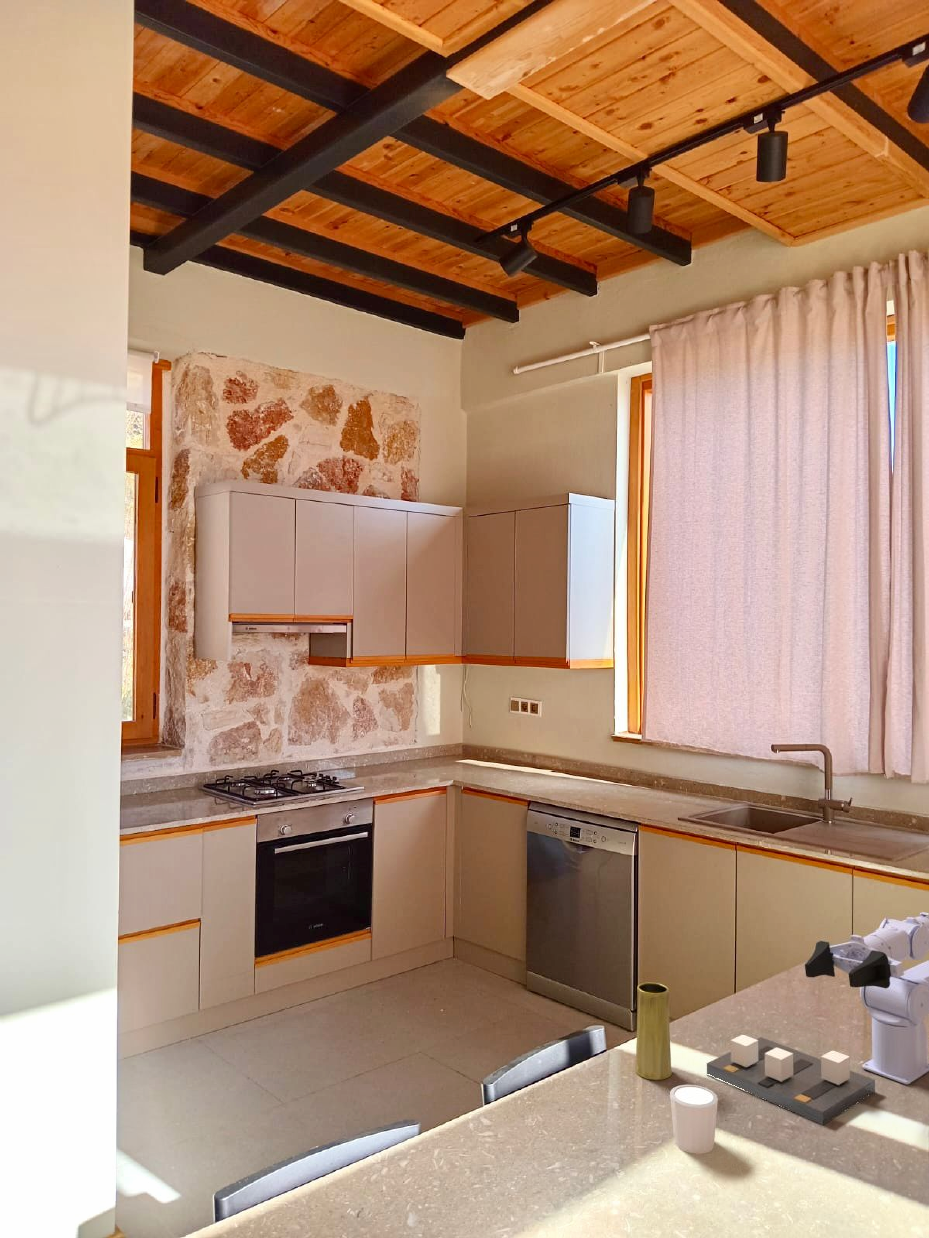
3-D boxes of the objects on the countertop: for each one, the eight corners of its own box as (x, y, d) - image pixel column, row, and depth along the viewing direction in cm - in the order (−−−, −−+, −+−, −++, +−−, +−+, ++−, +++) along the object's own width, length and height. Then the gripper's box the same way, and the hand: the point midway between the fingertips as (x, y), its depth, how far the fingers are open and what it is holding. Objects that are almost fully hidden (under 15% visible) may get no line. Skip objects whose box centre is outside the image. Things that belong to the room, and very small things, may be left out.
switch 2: (776, 1068, 156) (776, 1047, 156) (793, 1074, 154) (793, 1053, 154) (764, 1074, 154) (764, 1053, 154) (781, 1081, 152) (781, 1059, 152)
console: (760, 1048, 169) (760, 1035, 169) (874, 1091, 153) (874, 1078, 153) (706, 1075, 159) (706, 1061, 159) (822, 1125, 143) (822, 1110, 143)
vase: (672, 1082, 157) (671, 995, 157) (634, 1078, 158) (634, 992, 158) (671, 1065, 163) (671, 982, 163) (635, 1062, 164) (635, 979, 164)
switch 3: (832, 1071, 155) (832, 1050, 155) (849, 1078, 153) (849, 1056, 153) (821, 1077, 153) (821, 1056, 153) (838, 1084, 151) (838, 1062, 151)
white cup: (719, 1135, 140) (719, 1087, 140) (716, 1159, 134) (716, 1109, 134) (672, 1127, 142) (672, 1080, 142) (667, 1150, 136) (666, 1102, 136)
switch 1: (742, 1054, 161) (742, 1034, 162) (758, 1060, 159) (758, 1040, 159) (730, 1060, 159) (730, 1039, 159) (746, 1067, 157) (746, 1045, 157)
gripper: (832, 921, 163) (786, 941, 155) (914, 935, 152) (868, 958, 144) (837, 963, 163) (791, 985, 155) (919, 980, 151) (874, 1005, 143)
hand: (828, 975), depth 149 cm, fingers open, 7 cm apart
